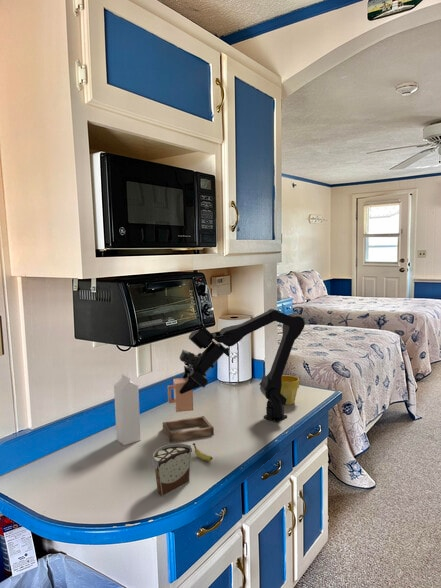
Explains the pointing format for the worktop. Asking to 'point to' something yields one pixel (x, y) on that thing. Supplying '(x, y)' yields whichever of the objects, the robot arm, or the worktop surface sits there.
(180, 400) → the peach box with tab
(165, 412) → the worktop surface
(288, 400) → the plant pot
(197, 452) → the banana
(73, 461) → the worktop surface
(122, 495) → the worktop surface
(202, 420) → the frame
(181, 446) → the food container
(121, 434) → the milk
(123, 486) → the worktop surface
